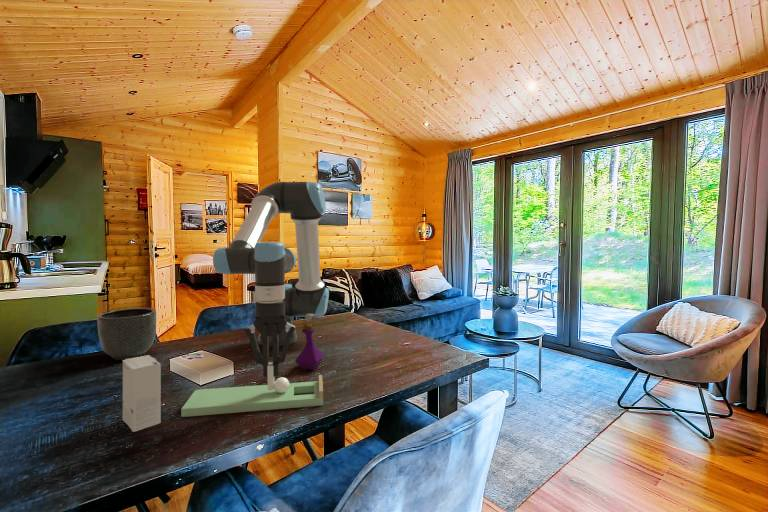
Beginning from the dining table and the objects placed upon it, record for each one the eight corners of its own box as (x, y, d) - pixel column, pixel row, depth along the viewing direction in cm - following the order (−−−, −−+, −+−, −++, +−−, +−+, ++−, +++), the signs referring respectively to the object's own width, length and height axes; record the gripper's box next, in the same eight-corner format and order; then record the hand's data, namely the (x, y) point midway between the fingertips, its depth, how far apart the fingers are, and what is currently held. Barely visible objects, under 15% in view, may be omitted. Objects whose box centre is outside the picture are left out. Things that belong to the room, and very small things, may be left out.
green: (195, 397, 100) (195, 383, 99) (322, 387, 106) (322, 374, 106) (181, 417, 89) (180, 401, 88) (323, 405, 95) (323, 391, 95)
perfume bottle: (316, 372, 117) (316, 317, 116) (294, 370, 119) (294, 316, 118) (325, 364, 125) (324, 312, 123) (304, 362, 126) (303, 311, 125)
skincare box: (122, 421, 87) (119, 359, 86) (150, 411, 91) (148, 353, 90) (133, 433, 81) (130, 368, 80) (163, 423, 86) (161, 361, 85)
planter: (87, 361, 126) (85, 315, 125) (137, 347, 142) (135, 306, 141) (120, 368, 120) (118, 320, 119) (168, 352, 136) (167, 310, 135)
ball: (271, 385, 100) (279, 372, 100) (285, 391, 100) (292, 378, 100) (270, 391, 96) (277, 378, 96) (283, 398, 96) (291, 384, 96)
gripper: (241, 304, 91) (242, 396, 93) (294, 302, 94) (295, 392, 95) (247, 298, 99) (248, 384, 100) (296, 297, 101) (296, 381, 102)
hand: (271, 388), depth 98 cm, fingers closed
